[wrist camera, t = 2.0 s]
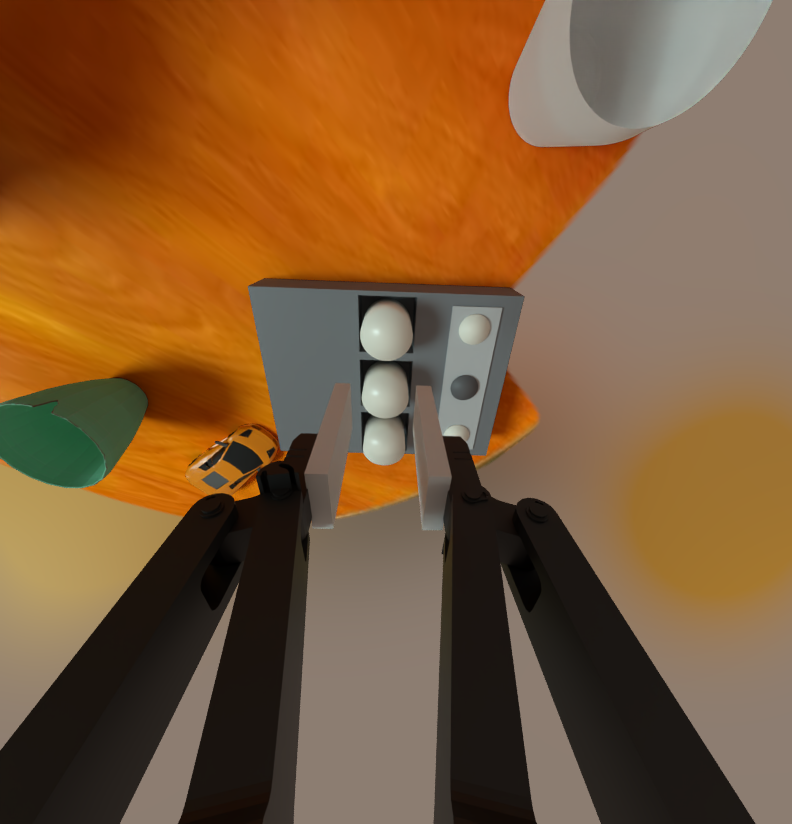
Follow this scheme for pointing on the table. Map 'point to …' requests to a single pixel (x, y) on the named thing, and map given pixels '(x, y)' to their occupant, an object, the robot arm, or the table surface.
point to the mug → (71, 430)
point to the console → (348, 360)
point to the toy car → (233, 460)
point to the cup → (623, 65)
